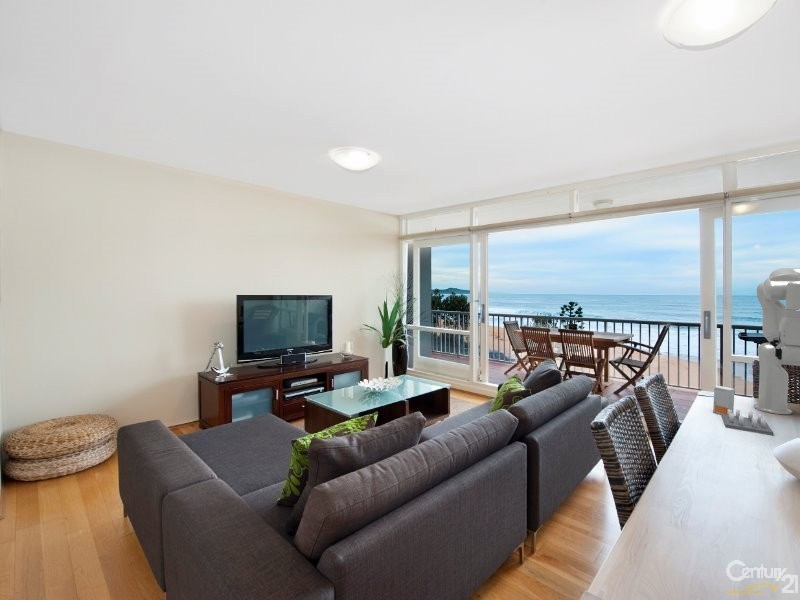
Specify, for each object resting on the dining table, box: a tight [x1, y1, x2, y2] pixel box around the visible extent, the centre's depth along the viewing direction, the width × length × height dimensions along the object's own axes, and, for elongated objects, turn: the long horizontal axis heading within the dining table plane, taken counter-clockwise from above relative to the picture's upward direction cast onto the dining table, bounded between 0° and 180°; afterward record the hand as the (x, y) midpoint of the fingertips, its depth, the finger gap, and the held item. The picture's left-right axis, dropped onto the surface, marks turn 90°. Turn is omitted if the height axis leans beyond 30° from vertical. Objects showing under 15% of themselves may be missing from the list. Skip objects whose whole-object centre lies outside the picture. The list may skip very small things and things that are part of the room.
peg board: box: [721, 409, 774, 436], centre depth 155 cm, size 16×14×5 cm
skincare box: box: [712, 385, 735, 415], centre depth 169 cm, size 6×4×12 cm
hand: (797, 360), depth 138 cm, fingers open, 9 cm apart
